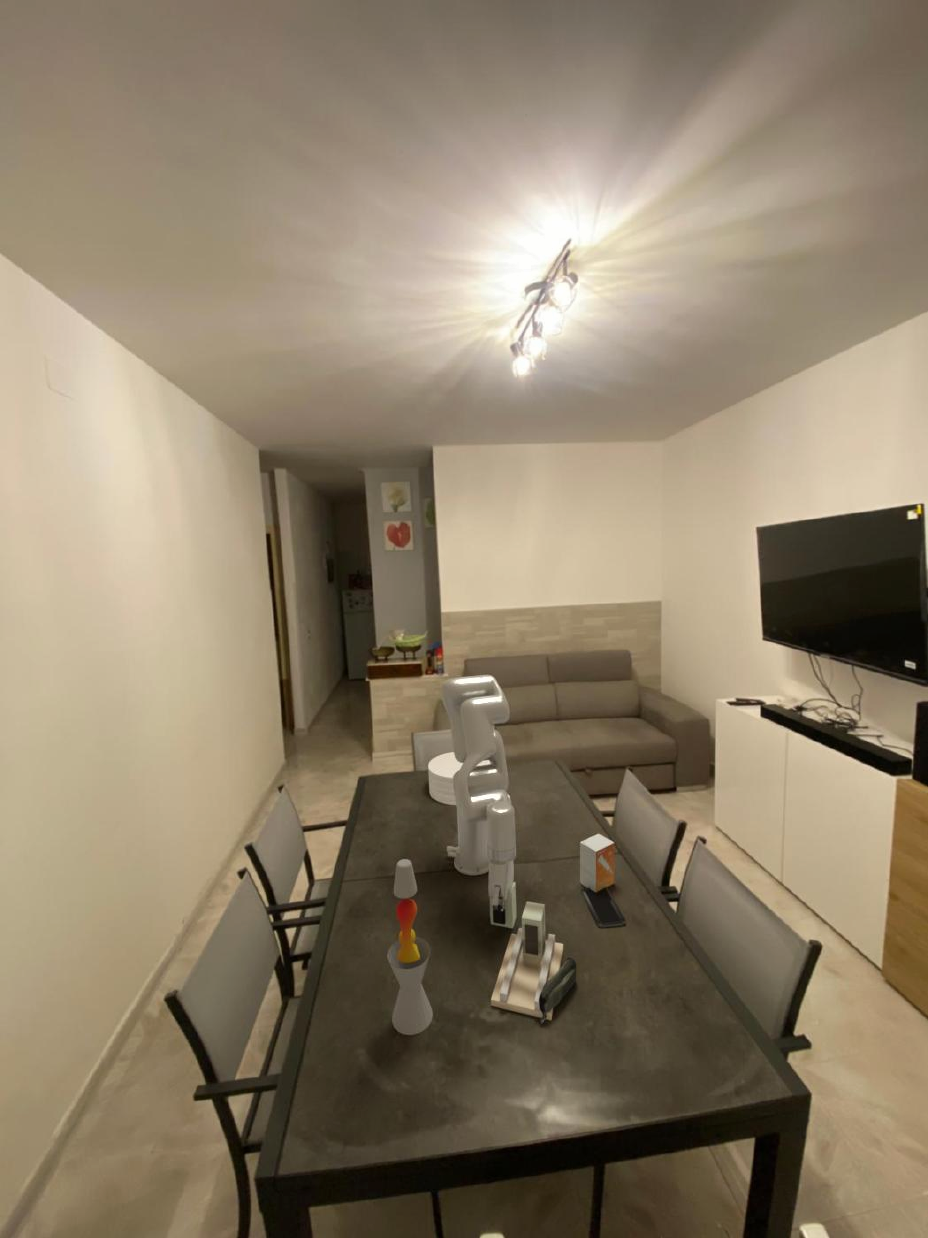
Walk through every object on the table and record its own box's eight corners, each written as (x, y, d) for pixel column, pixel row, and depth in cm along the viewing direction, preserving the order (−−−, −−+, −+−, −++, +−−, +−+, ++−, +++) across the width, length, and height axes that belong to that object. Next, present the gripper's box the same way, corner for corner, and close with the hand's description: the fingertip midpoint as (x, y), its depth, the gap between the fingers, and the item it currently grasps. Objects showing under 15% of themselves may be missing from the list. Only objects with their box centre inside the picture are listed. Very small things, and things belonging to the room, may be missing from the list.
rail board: (551, 1020, 105) (550, 970, 104) (491, 1005, 109) (489, 957, 108) (563, 949, 124) (562, 906, 123) (511, 939, 128) (510, 897, 127)
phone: (597, 925, 130) (580, 888, 145) (597, 929, 131) (580, 892, 145) (627, 923, 131) (606, 886, 146) (627, 927, 131) (607, 889, 146)
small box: (596, 894, 143) (595, 852, 142) (579, 883, 149) (579, 842, 147) (615, 884, 148) (615, 842, 146) (598, 873, 153) (598, 832, 152)
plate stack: (428, 778, 225) (426, 753, 224) (489, 773, 228) (489, 748, 227) (430, 808, 197) (429, 780, 196) (501, 802, 200) (500, 774, 199)
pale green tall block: (512, 928, 132) (511, 893, 130) (488, 923, 134) (487, 888, 132) (516, 916, 136) (515, 882, 135) (493, 912, 138) (492, 878, 137)
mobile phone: (567, 953, 116) (533, 997, 105) (579, 960, 114) (545, 1005, 103) (566, 973, 117) (532, 1018, 105) (578, 980, 115) (544, 1027, 103)
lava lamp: (438, 1028, 104) (430, 870, 100) (394, 1041, 102) (384, 880, 98) (428, 993, 113) (420, 846, 109) (388, 1004, 110) (379, 855, 106)
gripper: (495, 831, 142) (497, 888, 144) (478, 867, 125) (481, 931, 127) (522, 834, 139) (523, 893, 141) (507, 872, 123) (510, 937, 125)
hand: (503, 911), depth 134 cm, fingers open, 8 cm apart
